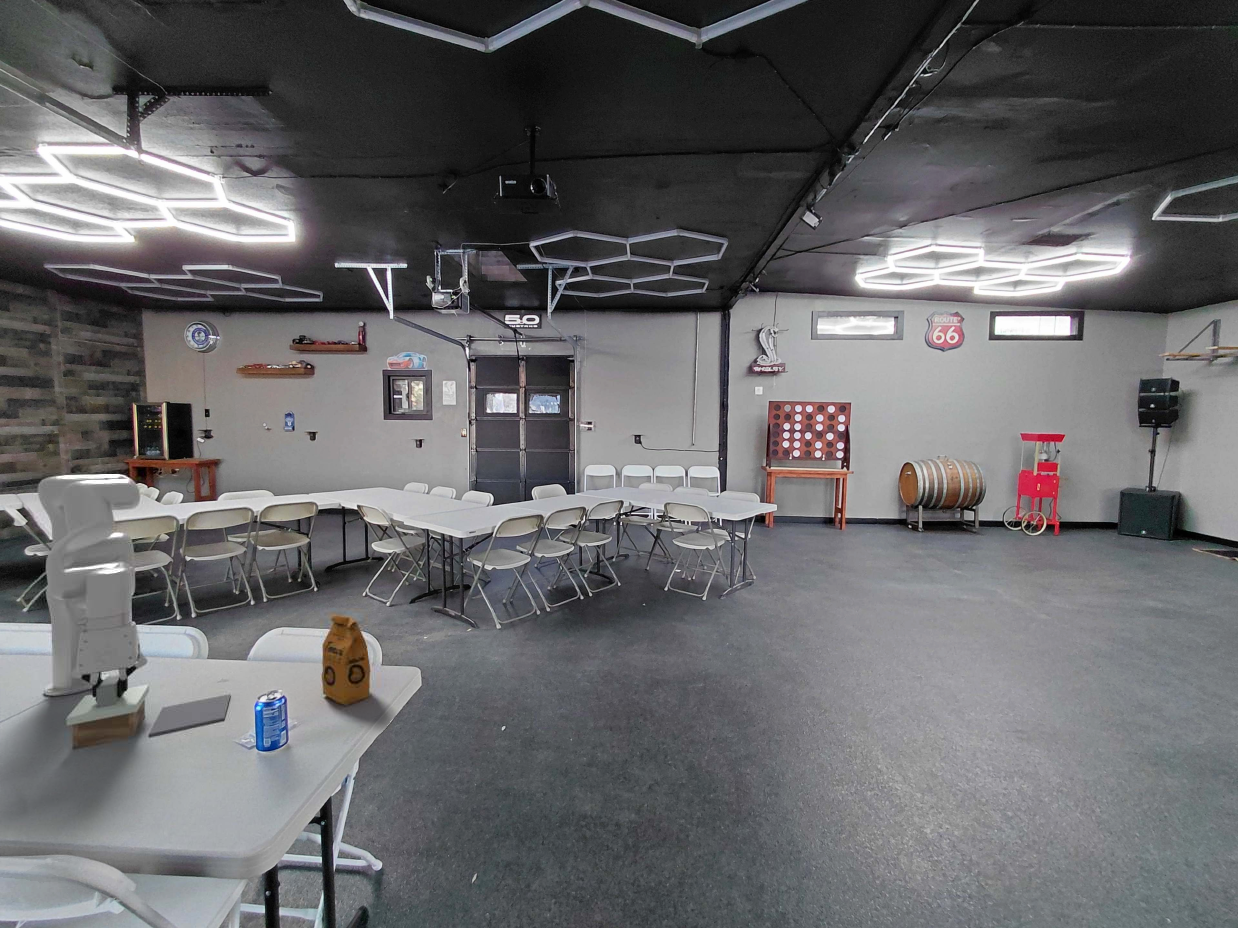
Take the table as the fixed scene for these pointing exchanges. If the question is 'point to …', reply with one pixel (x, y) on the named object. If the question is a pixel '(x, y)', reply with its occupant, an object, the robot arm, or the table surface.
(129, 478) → the robot arm
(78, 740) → the crate
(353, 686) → the coffee package
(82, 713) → the lid
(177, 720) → the mat
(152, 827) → the table surface
